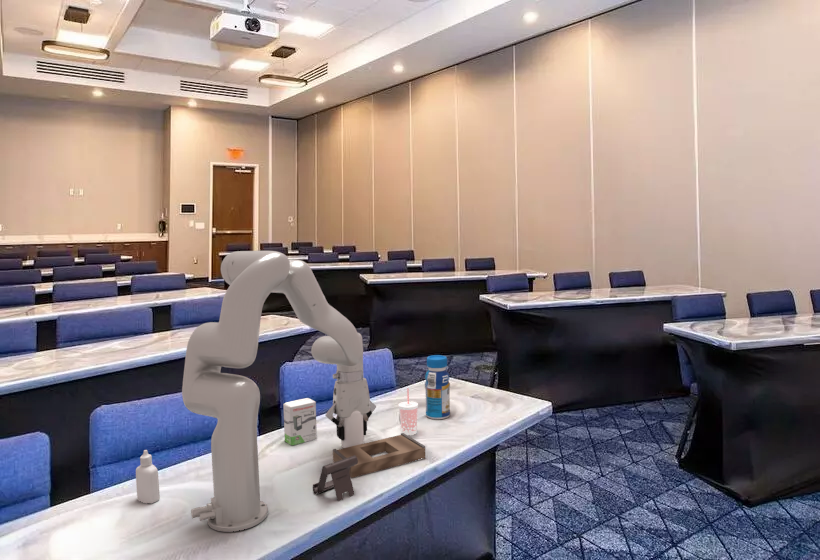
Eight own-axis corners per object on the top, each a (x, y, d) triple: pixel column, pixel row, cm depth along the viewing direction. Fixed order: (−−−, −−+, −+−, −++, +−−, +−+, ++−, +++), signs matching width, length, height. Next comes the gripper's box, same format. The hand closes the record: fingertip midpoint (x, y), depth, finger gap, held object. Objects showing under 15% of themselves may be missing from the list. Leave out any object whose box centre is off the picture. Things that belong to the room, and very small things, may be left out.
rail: (351, 478, 138) (351, 465, 138) (333, 461, 148) (332, 449, 148) (425, 458, 149) (425, 446, 149) (403, 444, 159) (403, 432, 159)
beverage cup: (422, 434, 167) (421, 389, 166) (403, 437, 164) (402, 392, 163) (414, 428, 172) (413, 384, 171) (396, 431, 170) (395, 387, 169)
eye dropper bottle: (156, 492, 132) (153, 444, 131) (160, 501, 128) (157, 452, 127) (136, 497, 130) (133, 448, 129) (140, 507, 125) (136, 456, 124)
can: (343, 451, 155) (341, 410, 154) (340, 443, 161) (338, 403, 160) (365, 448, 157) (364, 407, 156) (361, 440, 163) (360, 401, 162)
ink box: (291, 446, 160) (289, 406, 159) (284, 441, 164) (282, 403, 163) (317, 439, 165) (316, 400, 164) (310, 434, 169) (308, 397, 168)
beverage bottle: (421, 413, 186) (420, 355, 184) (445, 410, 189) (444, 353, 187) (430, 421, 178) (429, 361, 176) (454, 418, 181) (453, 358, 179)
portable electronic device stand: (343, 481, 136) (342, 448, 136) (362, 492, 131) (361, 458, 130) (312, 493, 131) (311, 459, 130) (331, 504, 125) (329, 469, 124)
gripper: (327, 383, 149) (329, 447, 151) (383, 373, 158) (384, 434, 160) (317, 377, 156) (319, 438, 157) (371, 368, 165) (373, 426, 166)
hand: (352, 435), depth 159 cm, fingers closed on can, 6 cm apart
